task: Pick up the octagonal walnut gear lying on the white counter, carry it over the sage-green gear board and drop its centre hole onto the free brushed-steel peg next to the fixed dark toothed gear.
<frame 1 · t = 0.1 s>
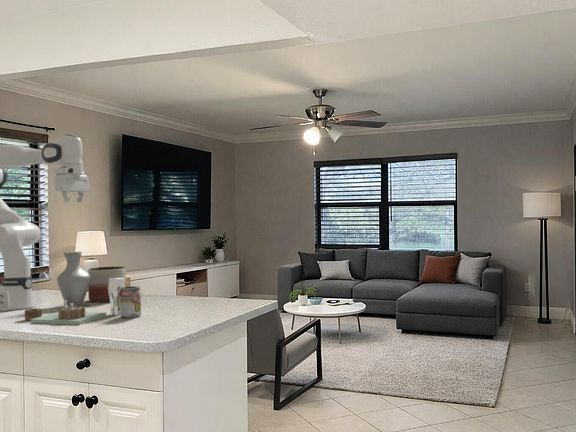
hand: (73, 201, 253), 48 cm above the countertop, fingers open, 8 cm apart
beer glass: (117, 314, 238), on the countertop
beverage can: (130, 317, 231), on the countertop
gear: (33, 319, 230), on the countertop
vase: (74, 306, 263), on the countertop
planter: (107, 300, 279), on the countertop
board: (69, 319, 228), on the countertop
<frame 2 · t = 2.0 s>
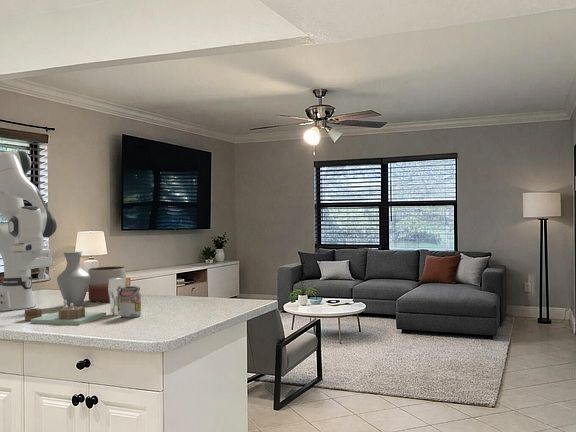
hand: (33, 279, 230), 16 cm above the countertop, fingers open, 8 cm apart
nothing on the countertop moved.
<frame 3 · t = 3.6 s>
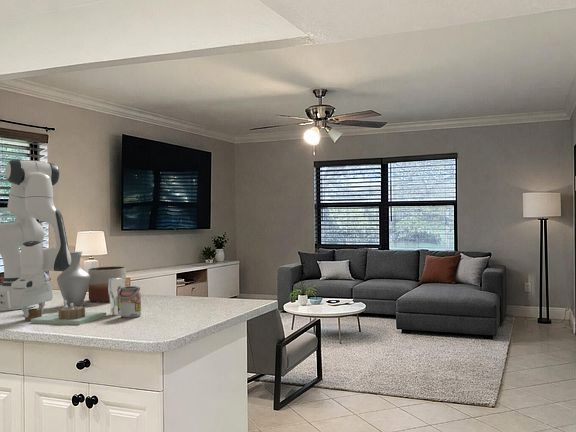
hand: (33, 315, 230), 2 cm above the countertop, fingers closed on gear, 6 cm apart
gear: (33, 319, 230), on the countertop, touching gripper
everything else where it was.
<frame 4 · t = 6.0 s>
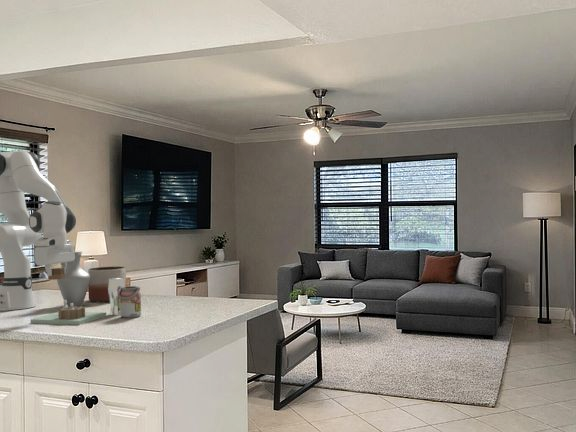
hand: (56, 274, 231), 18 cm above the countertop, fingers closed on gear, 6 cm apart
gear: (56, 278, 231), point 16 cm above the countertop, touching gripper
everything else where it was.
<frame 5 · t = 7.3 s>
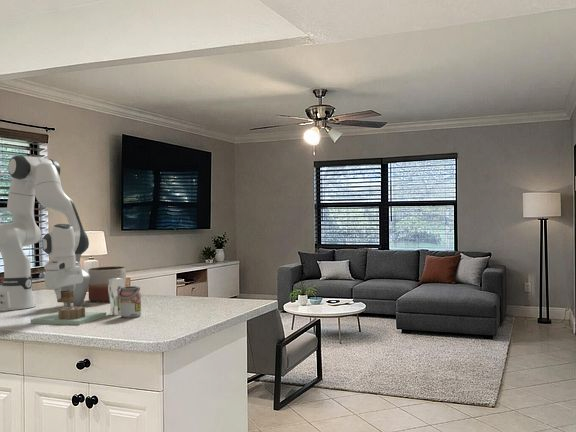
hand: (65, 297, 232), 8 cm above the countertop, fingers closed on gear, 6 cm apart
gear: (65, 301, 232), point 7 cm above the countertop, touching gripper
everything else where it was.
when the fingers open (6 cm above the countertop, at t = 8.3 s): gear drops 2 cm, resting on board.
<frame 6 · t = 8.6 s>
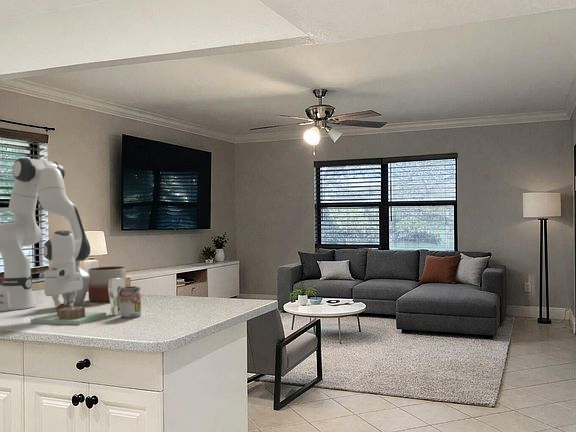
hand: (65, 304, 232), 6 cm above the countertop, fingers open, 8 cm apart
gear: (65, 314, 232), point 1 cm above the countertop, touching board
everything else where it was.
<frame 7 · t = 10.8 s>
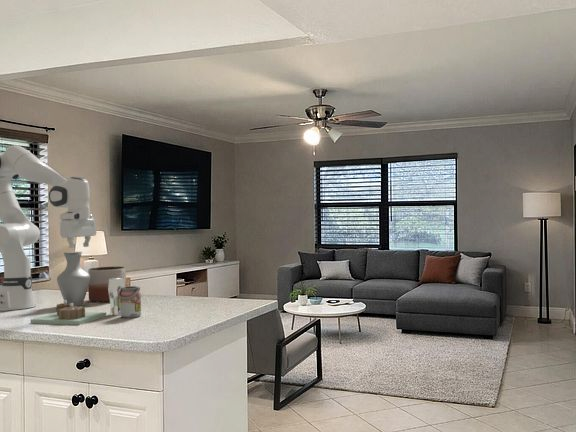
hand: (79, 247, 242), 28 cm above the countertop, fingers open, 8 cm apart
nothing on the countertop moved.
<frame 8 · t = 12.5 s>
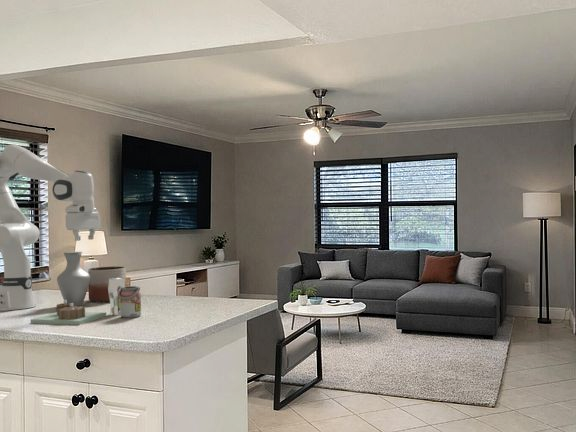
hand: (84, 240, 245), 31 cm above the countertop, fingers open, 8 cm apart
nothing on the countertop moved.
at the end: gear 0.1 cm from the target spot on the board, point 1.5 cm above the board's base; the gripper is holding nothing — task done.
